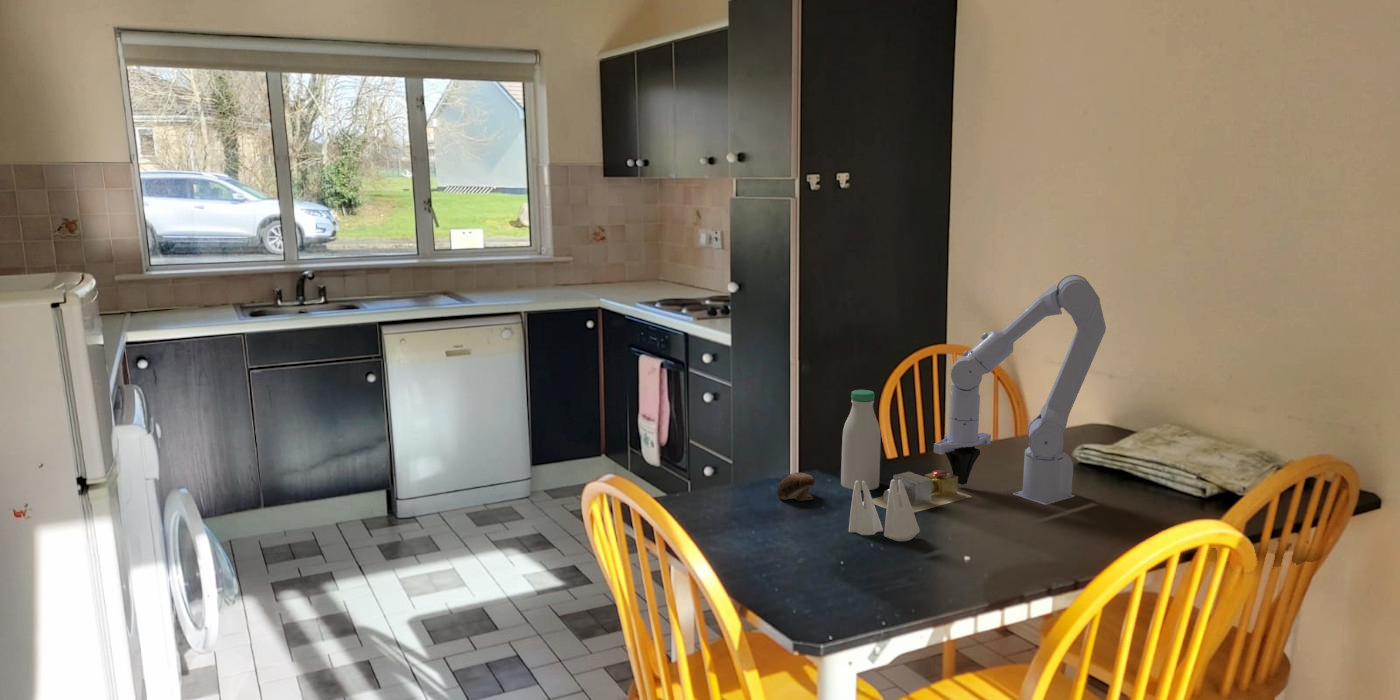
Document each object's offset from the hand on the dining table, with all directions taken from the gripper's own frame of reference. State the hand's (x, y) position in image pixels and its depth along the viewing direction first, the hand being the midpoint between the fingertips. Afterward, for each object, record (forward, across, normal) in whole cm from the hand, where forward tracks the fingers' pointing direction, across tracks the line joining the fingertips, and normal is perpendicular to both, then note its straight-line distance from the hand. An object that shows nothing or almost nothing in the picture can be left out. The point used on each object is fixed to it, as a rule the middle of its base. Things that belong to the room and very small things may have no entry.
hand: (960, 483), depth 198 cm
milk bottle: (+2, +15, -13) cm, 20 cm away
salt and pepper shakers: (+2, +31, +10) cm, 33 cm away
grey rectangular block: (+1, +16, 0) cm, 16 cm away
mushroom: (+2, +31, -14) cm, 34 cm away
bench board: (+2, +12, 0) cm, 12 cm away
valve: (+1, +7, 0) cm, 7 cm away
